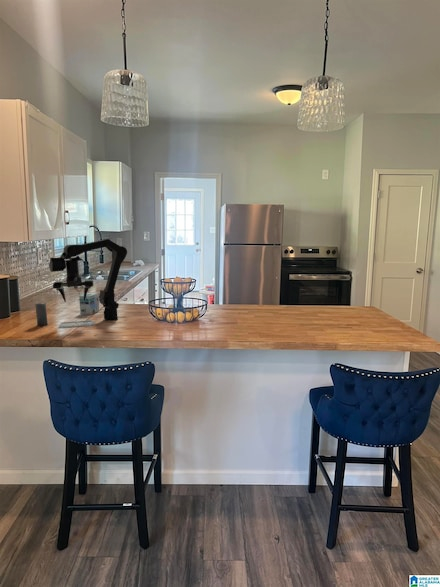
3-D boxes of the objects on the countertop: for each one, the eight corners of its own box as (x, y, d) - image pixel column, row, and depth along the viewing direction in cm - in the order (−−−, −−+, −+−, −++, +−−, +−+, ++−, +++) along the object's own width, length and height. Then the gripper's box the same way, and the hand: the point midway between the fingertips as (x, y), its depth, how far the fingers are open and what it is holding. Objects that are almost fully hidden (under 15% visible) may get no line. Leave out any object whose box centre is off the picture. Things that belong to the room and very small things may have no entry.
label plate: (93, 321, 217) (93, 319, 217) (92, 325, 207) (92, 324, 207) (61, 323, 213) (61, 322, 213) (58, 328, 203) (58, 326, 203)
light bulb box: (90, 314, 233) (89, 295, 232) (79, 314, 235) (78, 295, 233) (99, 310, 244) (98, 292, 242) (89, 310, 245) (88, 292, 243)
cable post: (49, 324, 213) (47, 302, 211) (43, 326, 208) (41, 304, 206) (41, 323, 214) (39, 302, 212) (35, 325, 209) (33, 304, 207)
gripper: (50, 272, 196) (52, 305, 198) (91, 271, 200) (93, 302, 203) (53, 270, 206) (55, 301, 209) (92, 268, 211) (94, 299, 213)
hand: (74, 301), depth 208 cm, fingers open, 9 cm apart
